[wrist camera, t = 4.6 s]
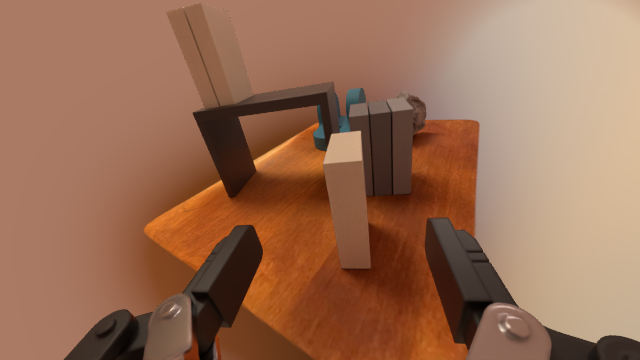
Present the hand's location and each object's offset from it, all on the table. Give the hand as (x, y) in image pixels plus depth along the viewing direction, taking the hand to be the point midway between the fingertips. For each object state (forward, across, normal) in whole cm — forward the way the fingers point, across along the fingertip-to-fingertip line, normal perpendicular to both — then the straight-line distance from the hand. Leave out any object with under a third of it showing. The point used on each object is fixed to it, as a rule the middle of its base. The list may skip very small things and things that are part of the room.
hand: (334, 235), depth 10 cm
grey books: (+24, -4, +12) cm, 27 cm away
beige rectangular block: (+11, 0, +12) cm, 16 cm away
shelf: (+28, +13, +12) cm, 33 cm away
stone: (+42, -11, +12) cm, 45 cm away
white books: (+28, +19, -3) cm, 34 cm away
